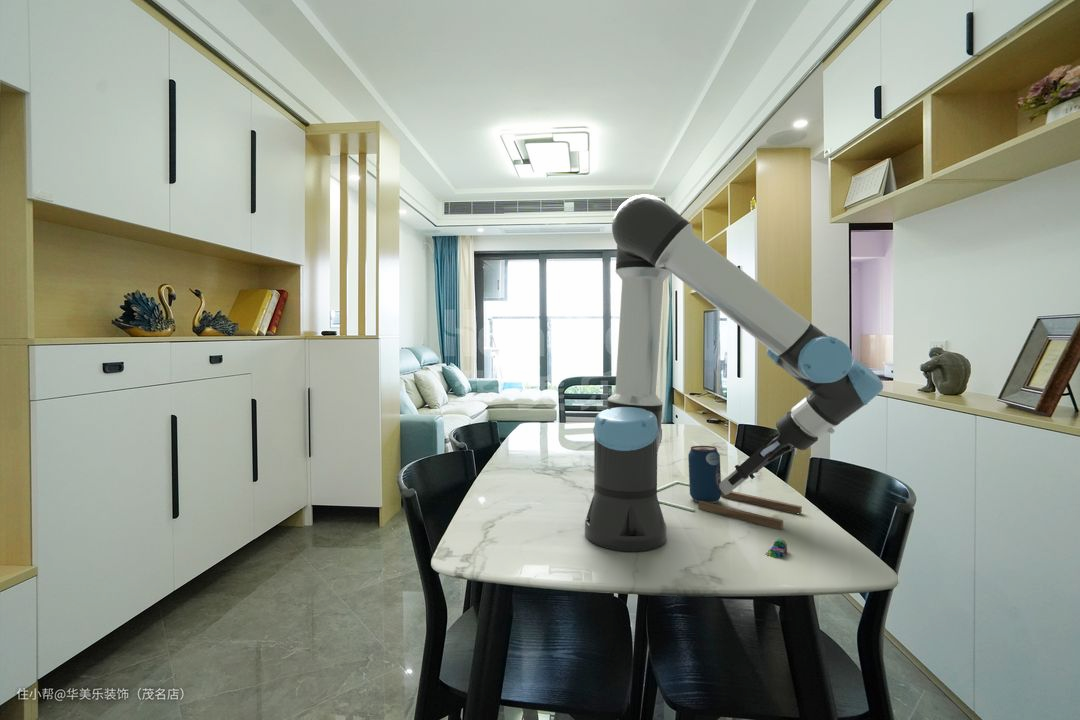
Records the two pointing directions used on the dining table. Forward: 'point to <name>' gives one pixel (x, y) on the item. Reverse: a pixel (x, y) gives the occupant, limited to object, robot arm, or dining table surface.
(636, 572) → the dining table surface
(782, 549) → the multicolored toy figure
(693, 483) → the soda can
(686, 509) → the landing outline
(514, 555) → the dining table surface
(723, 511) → the walnut rails
